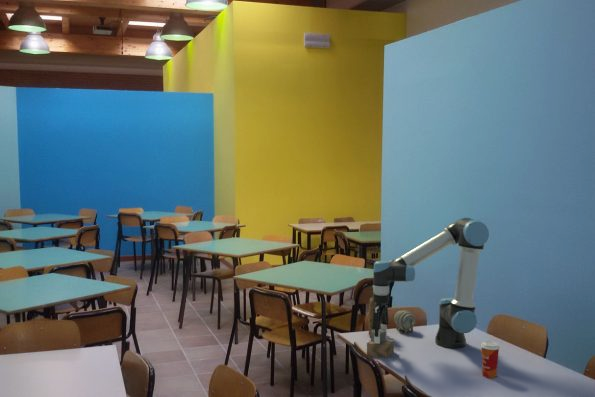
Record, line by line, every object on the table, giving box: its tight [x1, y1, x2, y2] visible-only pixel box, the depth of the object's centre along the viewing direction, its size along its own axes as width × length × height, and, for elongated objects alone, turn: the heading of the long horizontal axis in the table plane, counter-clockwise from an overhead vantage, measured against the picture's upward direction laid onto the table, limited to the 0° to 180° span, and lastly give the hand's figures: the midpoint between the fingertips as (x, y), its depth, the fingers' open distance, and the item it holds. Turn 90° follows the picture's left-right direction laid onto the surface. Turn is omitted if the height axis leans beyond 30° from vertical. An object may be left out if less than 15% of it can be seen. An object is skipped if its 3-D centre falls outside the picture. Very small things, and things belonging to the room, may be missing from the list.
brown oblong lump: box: [368, 296, 382, 337], centre depth 298 cm, size 11×8×20 cm
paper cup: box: [480, 341, 500, 379], centre depth 242 cm, size 8×8×14 cm
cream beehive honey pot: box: [393, 310, 416, 334], centre depth 307 cm, size 11×17×11 cm, turn 32°
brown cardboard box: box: [366, 338, 395, 359], centre depth 270 cm, size 10×10×6 cm
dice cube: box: [370, 329, 387, 343], centre depth 271 cm, size 5×5×5 cm
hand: (380, 340), depth 270 cm, fingers open, 8 cm apart
